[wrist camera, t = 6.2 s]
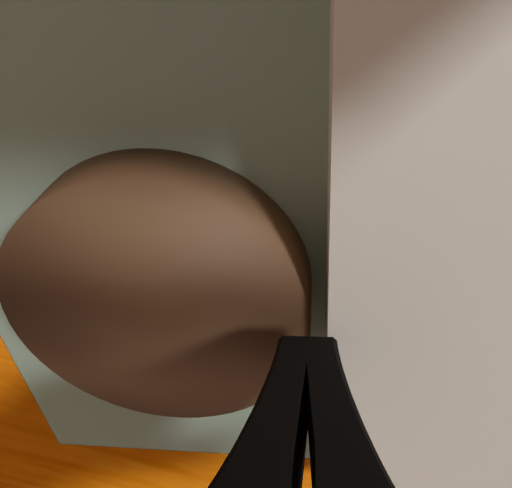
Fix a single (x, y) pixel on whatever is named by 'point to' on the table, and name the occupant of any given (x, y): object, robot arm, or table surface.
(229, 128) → the mat
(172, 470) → the table surface
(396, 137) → the ledge
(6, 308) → the brown flat pebble
